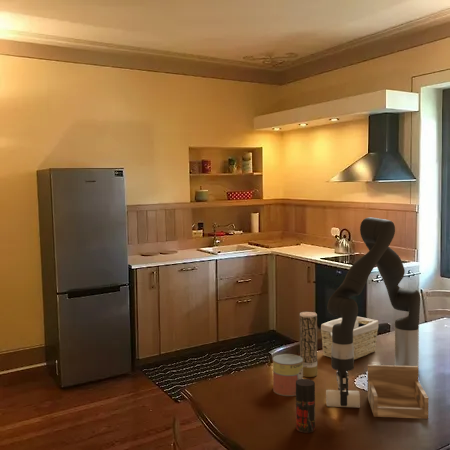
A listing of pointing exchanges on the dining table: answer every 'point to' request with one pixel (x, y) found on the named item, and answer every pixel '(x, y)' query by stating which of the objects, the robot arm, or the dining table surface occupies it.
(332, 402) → the white cylinder
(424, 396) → the holder
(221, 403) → the dining table surface
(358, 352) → the storage basket
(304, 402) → the deodorant
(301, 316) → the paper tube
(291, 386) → the canned food
